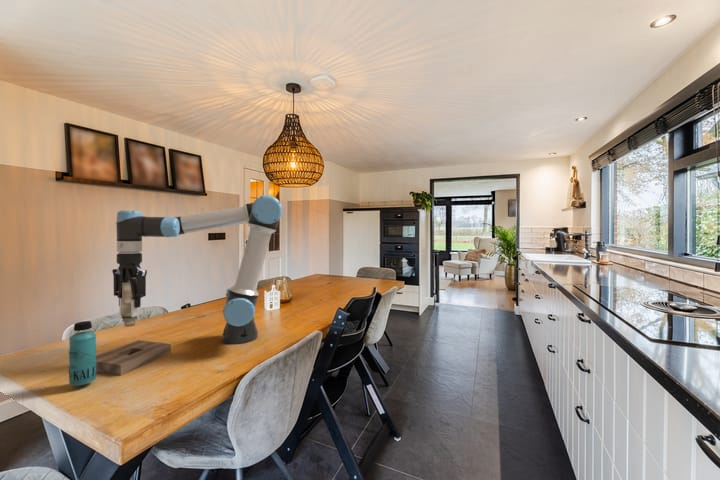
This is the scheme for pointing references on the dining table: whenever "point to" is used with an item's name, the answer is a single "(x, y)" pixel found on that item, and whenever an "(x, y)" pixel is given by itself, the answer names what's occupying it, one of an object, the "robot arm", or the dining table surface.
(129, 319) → the peg
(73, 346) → the beverage bottle
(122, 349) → the board
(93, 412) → the dining table surface
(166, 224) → the robot arm
